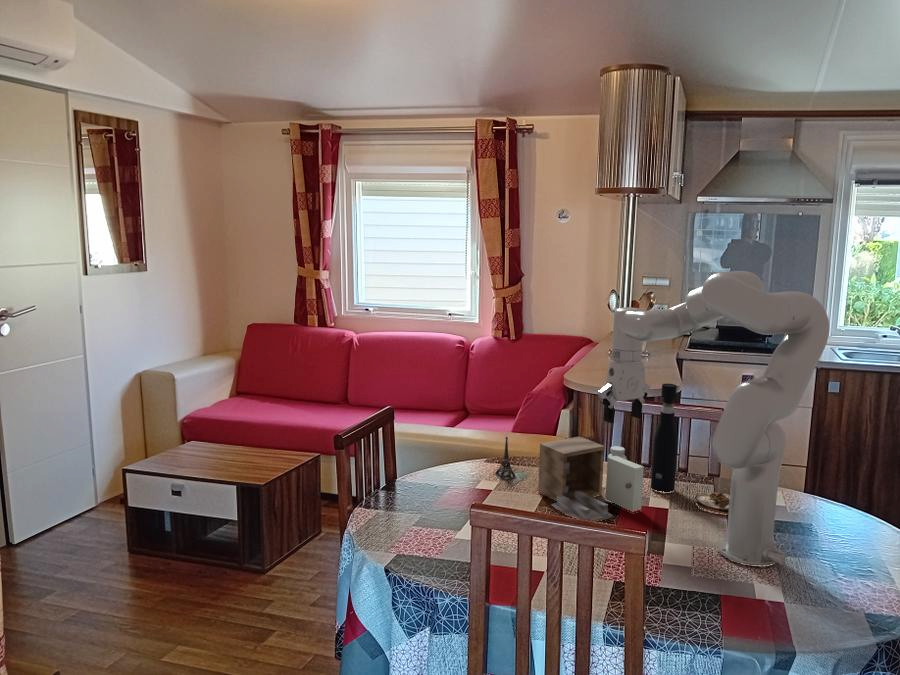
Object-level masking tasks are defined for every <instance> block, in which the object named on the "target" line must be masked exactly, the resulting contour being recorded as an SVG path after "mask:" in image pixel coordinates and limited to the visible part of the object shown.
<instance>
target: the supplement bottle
mask: <svg viewBox="0 0 900 675" xmlns="http://www.w3.org/2000/svg"><path fill="white" fill-rule="evenodd" d="M609 452H610V453H609V454H608V455H607V458H608V457H612V456H618V457H621V458H623V459H626V460H628V458H627V456H626V455H625V453H626V449H625V448H624V447H623V446H618V445H615V446H611V447H610V451H609Z"/></svg>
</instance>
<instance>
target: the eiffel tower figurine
mask: <svg viewBox="0 0 900 675" xmlns="http://www.w3.org/2000/svg"><path fill="white" fill-rule="evenodd" d="M508 442H509V439H508V435H506V436H505V442H504V443H505V445H504V446H505V447H504V453H503V458H502V462H501V464H500V465H499V466H498V469H496V471H495V472H494V475H495V476H496V478H498V479H499V480H511V479H512V480H514V482H509V483H504V486H505V487H509V488H512V487H513V486H514V485H516V484H517V483H519V482H520V481H521V480H523V479H525V478H527V477H528V476H529V474H528V473H527V472H526V471H523V470H516V471H513V467H512V466H511V464H510V463H511V462H510V458H509V446H508V445H509V444H508Z"/></svg>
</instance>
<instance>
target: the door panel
mask: <svg viewBox="0 0 900 675" xmlns="http://www.w3.org/2000/svg"><path fill="white" fill-rule="evenodd" d="M605 482H606V484H605V498H604V499H607V500H609V501H611V502H613V503H615V504H617V505H619V506H621V507H623V508H625V509H627V510H630V511H632V512H634V511H637V510H641V511H642V502H643V500H642V499H643V485H644V466H643V465H641V464H638V463H635V462H633V461H630V460H628V459H627V460H626V459H623V458H621V457H618V456H612V457H608V456H607V462H606V481H605Z"/></svg>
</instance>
